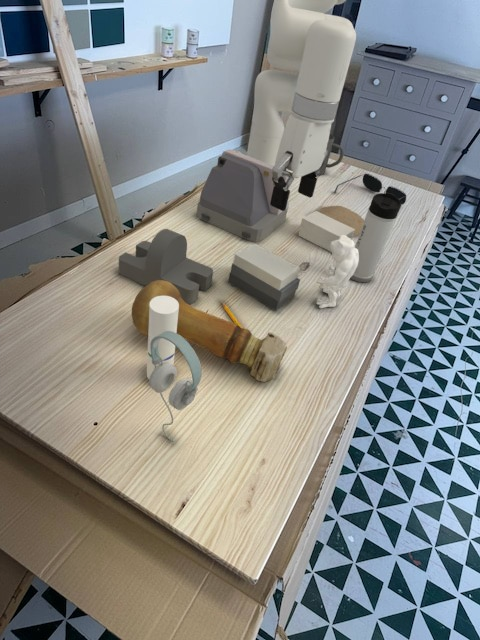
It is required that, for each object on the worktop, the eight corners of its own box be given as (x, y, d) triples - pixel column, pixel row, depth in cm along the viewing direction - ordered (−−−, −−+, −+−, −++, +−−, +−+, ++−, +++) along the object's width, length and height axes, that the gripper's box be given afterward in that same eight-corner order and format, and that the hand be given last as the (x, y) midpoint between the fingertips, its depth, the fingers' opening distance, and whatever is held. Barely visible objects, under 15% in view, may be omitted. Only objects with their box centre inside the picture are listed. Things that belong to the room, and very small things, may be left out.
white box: (233, 264, 98) (234, 254, 96) (252, 252, 103) (254, 243, 101) (279, 290, 93) (281, 280, 92) (297, 277, 98) (300, 268, 96)
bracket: (143, 253, 105) (144, 210, 98) (213, 283, 100) (219, 240, 93) (116, 272, 98) (115, 227, 91) (190, 305, 93) (195, 260, 86)
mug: (295, 169, 157) (303, 133, 150) (303, 161, 164) (312, 127, 157) (333, 182, 154) (343, 146, 147) (340, 173, 161) (350, 138, 153)
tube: (147, 364, 79) (150, 294, 70) (172, 365, 80) (179, 296, 70) (145, 383, 76) (148, 312, 67) (172, 384, 77) (178, 314, 67)
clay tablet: (367, 226, 133) (370, 217, 131) (353, 238, 126) (356, 229, 124) (323, 207, 138) (326, 198, 137) (307, 217, 131) (309, 208, 130)
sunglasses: (403, 208, 147) (408, 193, 143) (374, 223, 140) (379, 208, 136) (361, 185, 156) (365, 171, 152) (332, 198, 149) (335, 184, 145)
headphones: (138, 428, 69) (141, 328, 57) (159, 414, 72) (166, 315, 59) (177, 464, 66) (189, 366, 53) (197, 447, 68) (213, 350, 56)
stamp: (275, 397, 78) (275, 326, 69) (131, 363, 86) (114, 296, 77) (292, 358, 85) (294, 290, 76) (158, 330, 94) (145, 265, 85)
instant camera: (294, 223, 127) (308, 171, 118) (247, 247, 114) (257, 190, 104) (236, 193, 136) (244, 142, 126) (185, 212, 123) (190, 156, 113)
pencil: (265, 368, 83) (266, 365, 83) (219, 303, 95) (220, 301, 95) (269, 367, 84) (270, 364, 83) (223, 302, 96) (223, 300, 95)
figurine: (336, 318, 98) (359, 258, 88) (307, 307, 99) (326, 246, 89) (347, 292, 106) (370, 234, 96) (320, 282, 107) (339, 224, 97)
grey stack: (227, 282, 101) (231, 263, 98) (247, 270, 106) (251, 252, 103) (276, 311, 96) (281, 292, 93) (294, 298, 101) (300, 279, 98)
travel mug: (374, 273, 114) (405, 197, 101) (368, 286, 109) (400, 208, 96) (349, 264, 115) (377, 188, 103) (343, 276, 110) (371, 198, 98)
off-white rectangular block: (297, 235, 123) (302, 218, 119) (311, 227, 127) (316, 210, 124) (337, 255, 118) (343, 238, 114) (350, 246, 122) (355, 229, 119)
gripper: (320, 95, 86) (299, 183, 97) (267, 106, 74) (249, 205, 85) (356, 108, 83) (330, 197, 94) (306, 121, 71) (282, 221, 82)
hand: (291, 201), depth 89 cm, fingers open, 9 cm apart
